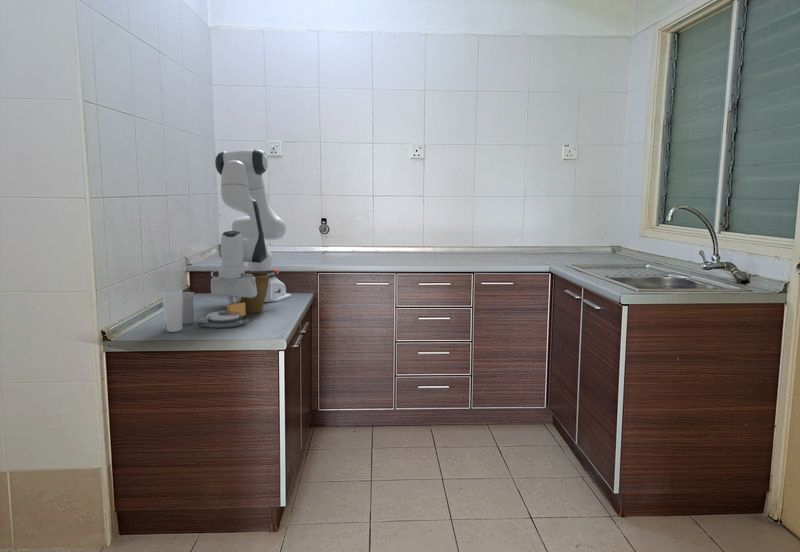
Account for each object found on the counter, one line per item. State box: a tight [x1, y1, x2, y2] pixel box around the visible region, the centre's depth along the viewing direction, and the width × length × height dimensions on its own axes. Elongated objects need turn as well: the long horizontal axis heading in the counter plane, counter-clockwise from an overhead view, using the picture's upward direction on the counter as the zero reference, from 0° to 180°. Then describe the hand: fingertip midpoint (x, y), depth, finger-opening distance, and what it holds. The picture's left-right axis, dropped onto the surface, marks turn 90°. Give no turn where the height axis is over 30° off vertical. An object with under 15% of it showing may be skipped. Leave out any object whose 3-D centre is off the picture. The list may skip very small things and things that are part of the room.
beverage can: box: [182, 291, 195, 326], centre depth 223 cm, size 6×6×12 cm
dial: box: [206, 302, 247, 323], centre depth 225 cm, size 16×12×5 cm
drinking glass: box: [162, 288, 184, 333], centre depth 211 cm, size 7×7×15 cm
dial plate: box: [197, 315, 250, 330], centre depth 225 cm, size 19×19×2 cm
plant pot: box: [240, 272, 269, 315], centre depth 244 cm, size 15×15×16 cm
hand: (234, 307), depth 232 cm, fingers closed
